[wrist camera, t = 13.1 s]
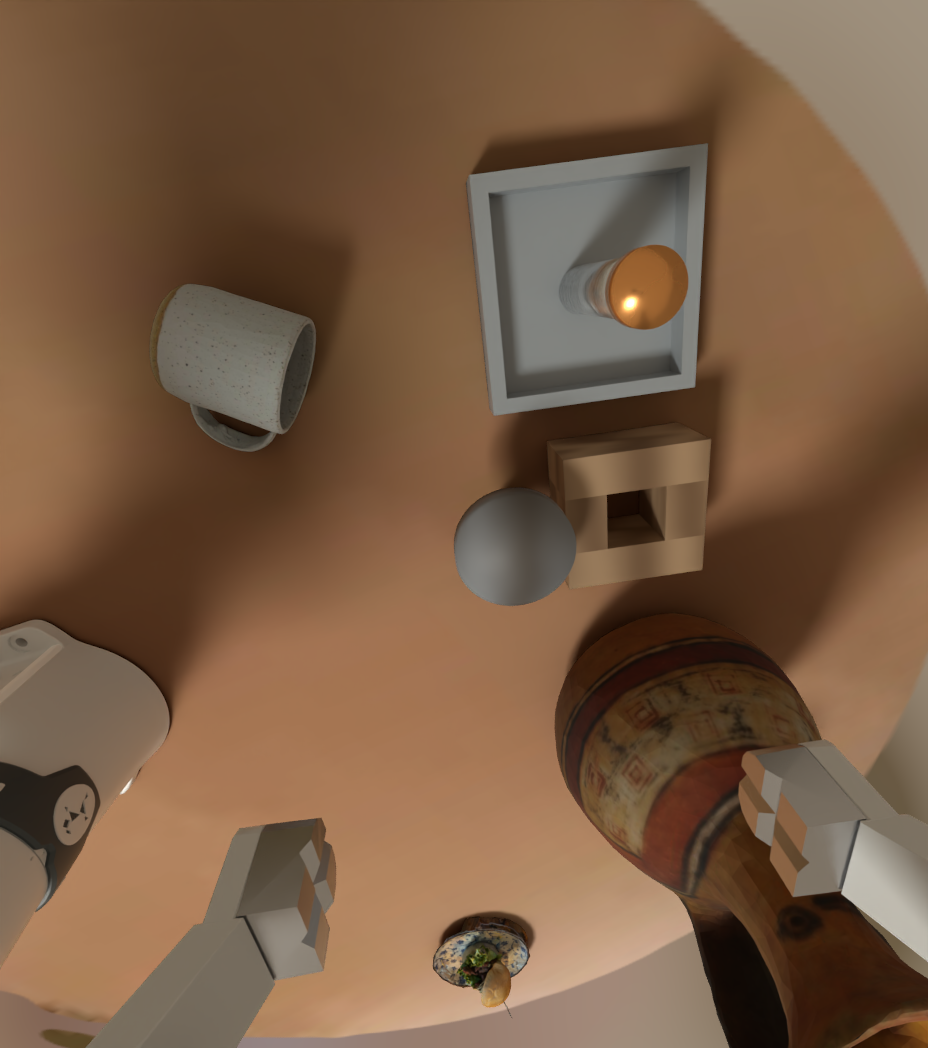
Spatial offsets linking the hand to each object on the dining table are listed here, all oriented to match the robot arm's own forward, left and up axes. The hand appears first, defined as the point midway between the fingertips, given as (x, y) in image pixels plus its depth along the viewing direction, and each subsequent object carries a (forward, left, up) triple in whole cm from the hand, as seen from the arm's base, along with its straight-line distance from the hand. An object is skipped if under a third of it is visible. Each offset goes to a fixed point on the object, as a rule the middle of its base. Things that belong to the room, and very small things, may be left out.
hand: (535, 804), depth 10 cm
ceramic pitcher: (+15, -27, -31) cm, 44 cm away
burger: (-5, -64, -32) cm, 72 cm away
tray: (+10, +8, -31) cm, 34 cm away
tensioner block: (+8, -7, -31) cm, 33 cm away
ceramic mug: (-13, +6, -31) cm, 34 cm away
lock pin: (+10, +8, -30) cm, 33 cm away
